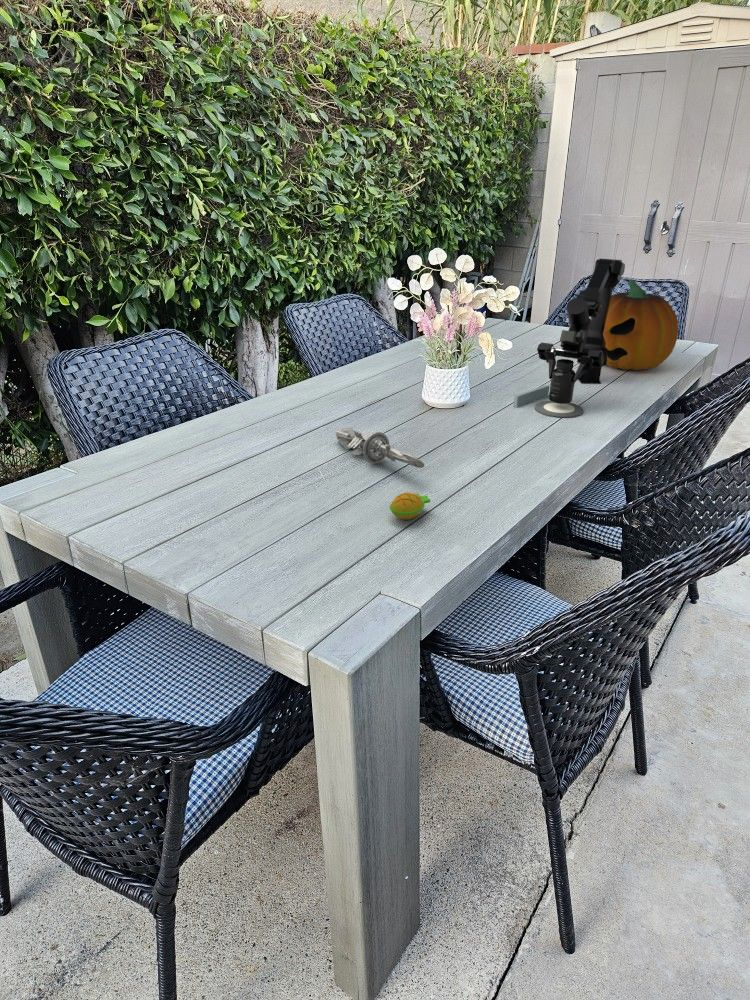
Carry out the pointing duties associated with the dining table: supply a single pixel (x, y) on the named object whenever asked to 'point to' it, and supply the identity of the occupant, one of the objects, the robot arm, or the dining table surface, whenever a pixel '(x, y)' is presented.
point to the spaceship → (374, 447)
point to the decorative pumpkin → (639, 329)
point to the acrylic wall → (531, 396)
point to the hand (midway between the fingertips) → (561, 380)
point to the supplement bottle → (562, 382)
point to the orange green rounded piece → (408, 505)
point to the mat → (559, 409)
